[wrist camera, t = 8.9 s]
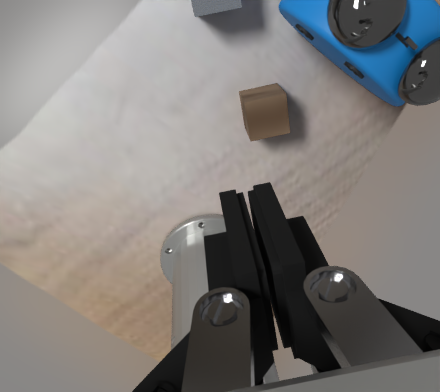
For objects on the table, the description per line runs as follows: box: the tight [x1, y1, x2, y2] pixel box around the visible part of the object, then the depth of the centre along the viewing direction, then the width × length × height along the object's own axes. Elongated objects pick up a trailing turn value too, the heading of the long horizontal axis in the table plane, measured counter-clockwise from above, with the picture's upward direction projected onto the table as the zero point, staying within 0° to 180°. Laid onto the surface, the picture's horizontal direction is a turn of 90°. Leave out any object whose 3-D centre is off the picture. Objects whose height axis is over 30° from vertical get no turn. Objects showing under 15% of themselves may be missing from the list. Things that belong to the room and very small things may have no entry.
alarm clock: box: [279, 0, 440, 106], centre depth 31 cm, size 13×6×15 cm, turn 53°
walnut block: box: [239, 83, 290, 141], centre depth 39 cm, size 4×4×4 cm
